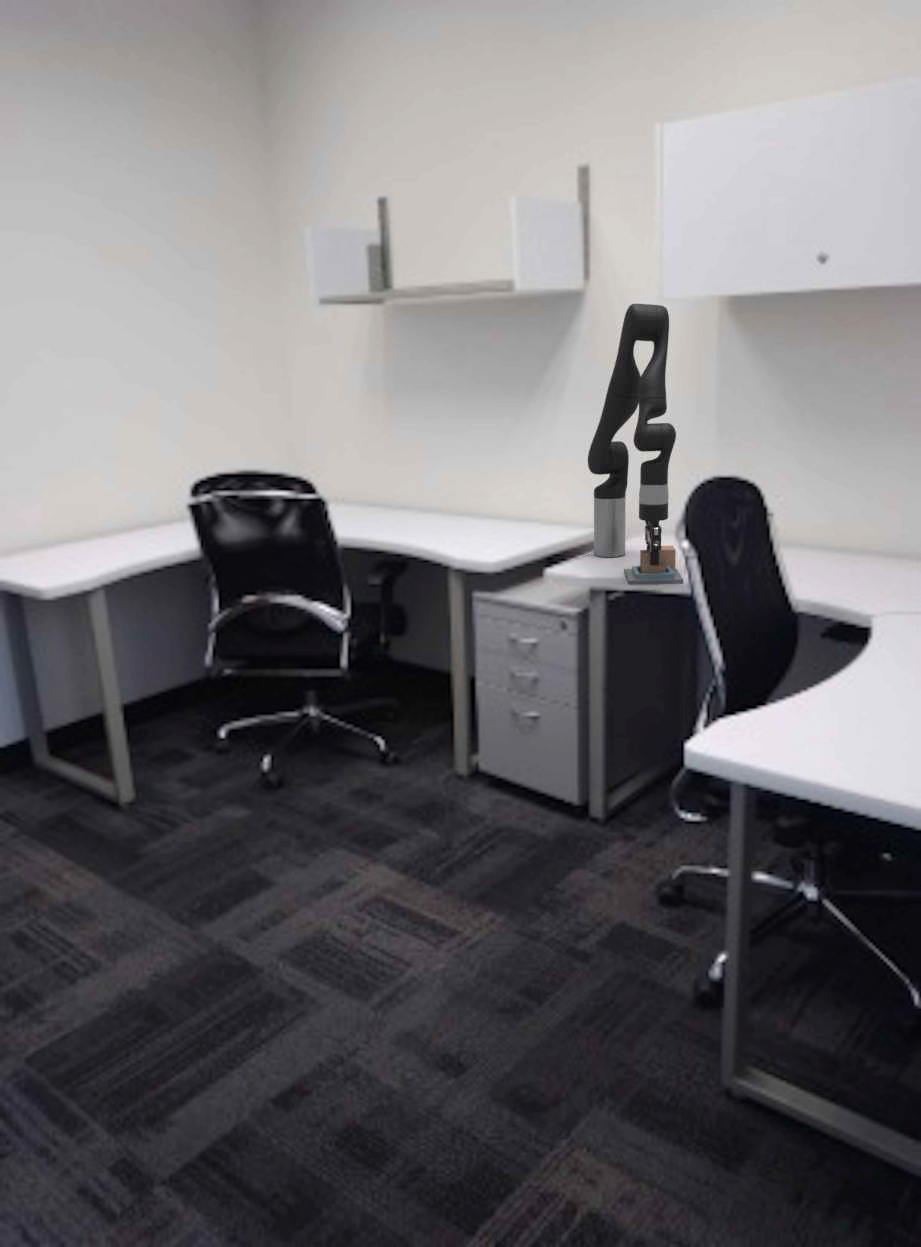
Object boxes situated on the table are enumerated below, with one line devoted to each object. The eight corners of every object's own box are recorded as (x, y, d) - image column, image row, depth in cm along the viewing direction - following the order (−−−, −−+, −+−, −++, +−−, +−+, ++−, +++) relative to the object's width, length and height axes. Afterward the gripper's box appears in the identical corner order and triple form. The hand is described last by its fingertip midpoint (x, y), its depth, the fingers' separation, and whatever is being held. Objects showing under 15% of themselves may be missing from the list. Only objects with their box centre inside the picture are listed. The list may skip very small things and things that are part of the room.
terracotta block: (650, 567, 272) (650, 546, 271) (672, 566, 272) (672, 545, 270) (653, 571, 267) (653, 550, 265) (675, 571, 266) (675, 549, 264)
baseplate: (623, 572, 266) (623, 564, 266) (675, 571, 265) (675, 563, 264) (628, 584, 253) (628, 576, 252) (683, 583, 252) (683, 575, 251)
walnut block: (640, 571, 262) (640, 550, 260) (662, 571, 261) (662, 549, 260) (642, 576, 256) (642, 554, 254) (665, 576, 256) (665, 553, 254)
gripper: (671, 504, 246) (670, 567, 251) (664, 496, 260) (663, 556, 264) (642, 505, 247) (641, 568, 251) (636, 497, 261) (635, 556, 265)
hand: (652, 562), depth 258 cm, fingers open, 8 cm apart
